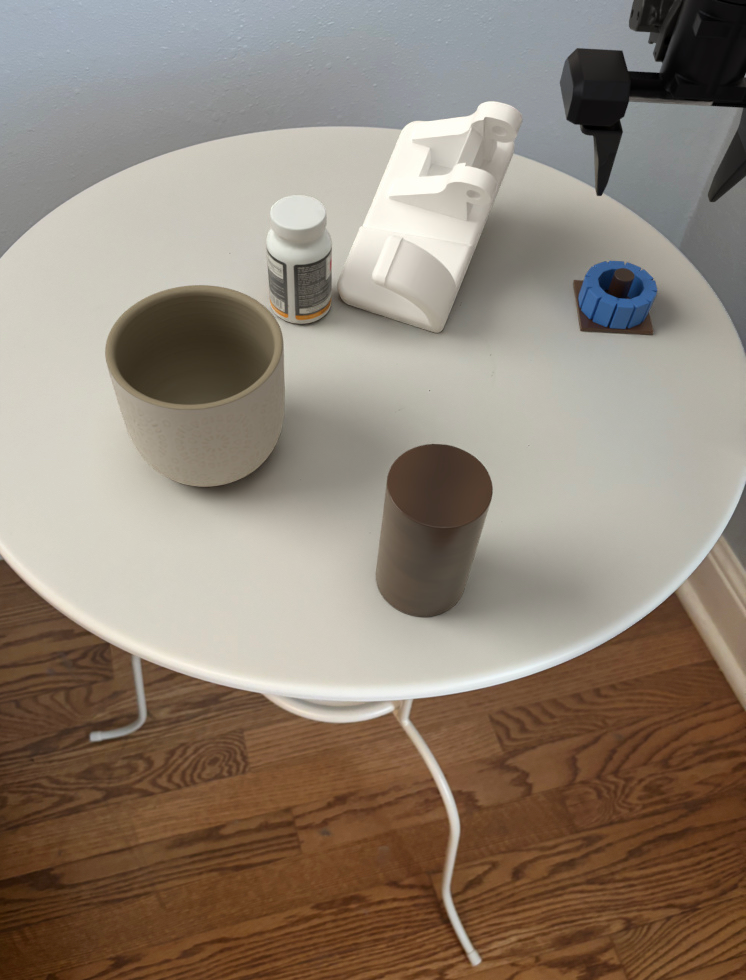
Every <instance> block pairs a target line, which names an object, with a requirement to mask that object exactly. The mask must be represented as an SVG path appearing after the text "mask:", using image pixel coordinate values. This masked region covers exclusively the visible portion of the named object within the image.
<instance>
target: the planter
mask: <svg viewBox="0 0 746 980" xmlns="http://www.w3.org/2000/svg"><path fill="white" fill-rule="evenodd" d="M284 348H285V345H284V337H283V332H282V328H281V326H280V324H279V322H278V320H277V319H276V317H275V316H274V314H273V313H272V312H271V311H270V310H269V309H268V308H267V307H266V306H265V305H264V304H262V303H261V302H260V301H258V300H257V299H255V298H254V297H252V296H250V295H248V294H246V293H243V292H241V291H239V290H235V289H231V288H228V287H224V286H217V285H210V284H209V285H208V284H207V285H206V284H205V285H204V284H192V285H181V286H177V287H171V288H168V289H164V290H160V291H158V292H156V293H153V294H150V295H148V296H146V297H144V298H142V299H140V300H139V301H137V302H136V303H134V304H133V305H131V306H130V307H129V308H127V309H126V310H125V311H124V312H123V313H122V314H121V315H120V316H119V317H118V318H117V320H116V321H115V322H114V324H113V325H112V327H111V329H110V331H109V333H108V335H107V338H106V342H105V347H104V356H105V357H104V358H105V364H106V367H107V371H108V375H109V378H110V381H111V384H112V388H113V390H114V394H115V397H116V401H117V404H118V406H119V407H118V408H119V411H120V414H121V416H122V420H123V422H124V425H125V428H126V432H127V434H128V437H129V438H130V440H131V442H132V443H133V446H134V448H135V449H136V451H137V452H138V454H139V455H140V457H141V458H142V459H143V460H144V461H145V462H146V463H147V464H148V465H149V466H151V468H152V469H153V470H155V471H156V472H158V473H159V474H160V475H161V476H163V477H165V478H167V479H169V480H171V481H174V482H177V483H179V484H183V485H187V486H192V487H202V488H203V487H204V488H205V487H206V488H208V487H217V486H223V485H229V484H231V483H234V482H236V481H239V480H241V479H244V478H245V477H248V476H249V475H250V474H252V473H253V472H255V471H256V470H257V469H258V468H260V466H262V465H263V463H265V461H266V460H267V459H268V458H269V457H270V455H271V454H272V452H273V451H274V449H275V447H276V445H277V443H278V441H279V438H280V435H281V432H282V429H283V425H284V424H283V423H284V417H285V405H286V404H285V403H286V402H285V401H286V398H285V397H286V395H285V394H286V390H285V389H286V387H285V385H286V382H285V349H284Z"/></svg>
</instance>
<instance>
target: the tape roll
mask: <svg viewBox="0 0 746 980" xmlns="http://www.w3.org/2000/svg"><path fill="white" fill-rule="evenodd" d="M620 268H626V269H629V270H631V271H632V272H633V273H634V276H635V277H634V280H633V283H632V285H631V288H630V290H629V293H628V295H627V296H628V297H629V298H630V299H622V298H616V297H614V296H612V295H609V294H607V293H606V292H605V291H604V290H608V289H609V286H610V283H611V281H612V278H613V275H614V273H615V271H616V270H617V269H620ZM583 280H584V281H583V284H582V287H581V290H580V293H579V297H578V300H579V306H580V308H582V309H581V311H582V312H583V313H584V314H585V315H586V316H587V317H588V318H589V319H593V322H595V323H597V324H600V325H602V326H604V327H608V325H609V326H610V328H614V329H626V327H627V328H631V327H634V326H637V325H639V324H641V322H643V321H644V320H645V318H646V317H647V315H648V313H650V311H651V308H652V306H653V304H654V302H655V299H656V297H657V294H658V287H657V283H656V280H654V277H653V276H652V275H651V274H650V273H649V272H648V271H647V270H646V269H644V268H643V269H642V267H641V266H638V265H636V264H634V263H630V262H628V261H626V263H625V261H623V260H608V261H606V260H604V261H602V262H598V263H596V264H593V266H590V268H589V269H588V271H587V272H586V273H585V275H584V278H583Z"/></svg>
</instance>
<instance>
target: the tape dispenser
mask: <svg viewBox="0 0 746 980" xmlns="http://www.w3.org/2000/svg"><path fill="white" fill-rule="evenodd" d="M523 121H524V119H523V115H522V113H521V111H519V109H517V108H516V107H514V106H513V105H511V104H508V103H504V102H500V101H493V100H490V101H489V100H488V101H484V102H482V103H480V104H479V105H478V106H477V108H476V111H474V112H473V113H472V114H469V115H466V116H458V117H450V118H442V119H435V120H428V121H426V120H413V121H411V122H409V123H407V124H406V125H404V127H403V128H402V130H401V132H400V134H399V136H398V137H397V141H396V143H395V146H394V148H393V151H392V153H391V156H390V158H389V160H388V163H387V165H386V167H385V170H384V173H383V175H382V177H381V179H380V183H379V184H378V187H377V189H376V192H375V194H374V197H373V199H372V201H371V204H370V206H369V209H368V211H367V213H366V216H365V218H364V221H363V223H362V225H360V226H359V228H358V230H357V233H356V236H355V238H354V241H353V243H352V246H351V248H350V250H349V253H348V254H347V258H346V260H345V262H344V264H343V267H342V270H341V271H340V272H341V273H340V275H339V276H338V279H337V285H336V286H337V287H336V288H337V292H338V295H339V297H340V299H341V301H342V302H343V303H345V304H346V305H347V306H351V307H354V308H357V309H360V310H363V311H365V312H369V313H371V314H375V315H379V316H381V317H385V318H388V319H390V320H394V321H396V322H397V321H398V322H401V323H404V324H406V325H409V326H412V327H416V328H419V329H422V330H425V331H428V332H431V333H434V334H437V333H441V332H442V331H443V330H444V328H445V326H446V323H447V321H448V318H449V316H450V313H451V310H452V308H453V306H454V303H455V301H456V298H457V296H458V293H459V290H460V288H461V286H462V283H463V281H464V278H465V276H466V274H467V271H468V268H469V266H470V263H471V261H472V258H473V256H474V253H475V251H476V248H477V246H478V243H479V241H480V238H481V236H482V234H483V231H484V228H485V226H486V223H487V221H488V219H489V216H490V214H491V212H492V208H493V206H494V203H495V201H496V198H497V196H498V193H499V190H500V188H501V186H502V183H503V182H504V181H503V180H504V179H505V176H506V173H507V170H508V168H509V166H510V164H511V161H512V158H513V156H514V153H515V147H516V146H515V140H516V138H517V136H518V134H519V131H520V129H521V126H522V124H523Z"/></svg>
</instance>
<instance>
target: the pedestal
mask: <svg viewBox="0 0 746 980" xmlns="http://www.w3.org/2000/svg"><path fill="white" fill-rule="evenodd" d="M493 493H494V487H493V481H492V479H491V475H490V474H489V471H488V469H487V468H486V467H485V465H484V464H483V463H482V462H481V461H480V460H479V459H478V458H477V457H475V456H474V455H473V454H471V453H470V452H468V451H466V450H464V449H462V448H459V447H457V446H454V445H449V444H443V443H427V444H421V445H418V446H415V447H413V448H410V449H408V450H406V451H404V452H403V453H402V454H400V455H399V456H398V457H397V458H396V459H395V460H394V461H393V463H392V464H391V466H390V468H389V470H388V473H387V476H386V485H385V494H384V501H383V510H382V518H381V527H380V534H379V542H378V550H377V557H376V558H377V559H376V568H375V583H376V587H377V589H378V591H379V593H380V595H381V596H382V598H383V599H384V600H385V601H386V603H387V604H388V605H390V606H391V607H393V608H394V609H396V610H397V611H398V612H401V613H402V614H405V615H409V616H412V617H420V618H421V617H423V618H424V617H426V618H428V617H434V616H438V615H440V614H444V613H445V612H447V611H449V610H451V609H452V608H453V607H454V606H456V605H457V604H458V602H459V601H460V600H461V598H462V596H463V594H464V591H465V589H466V585H467V582H468V579H469V575H470V572H471V569H472V565H473V563H474V559H475V556H476V552H477V549H478V545H479V543H480V539H481V536H482V532H483V529H484V525H485V522H486V519H487V516H488V512H489V509H490V506H491V503H492V500H493Z"/></svg>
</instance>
